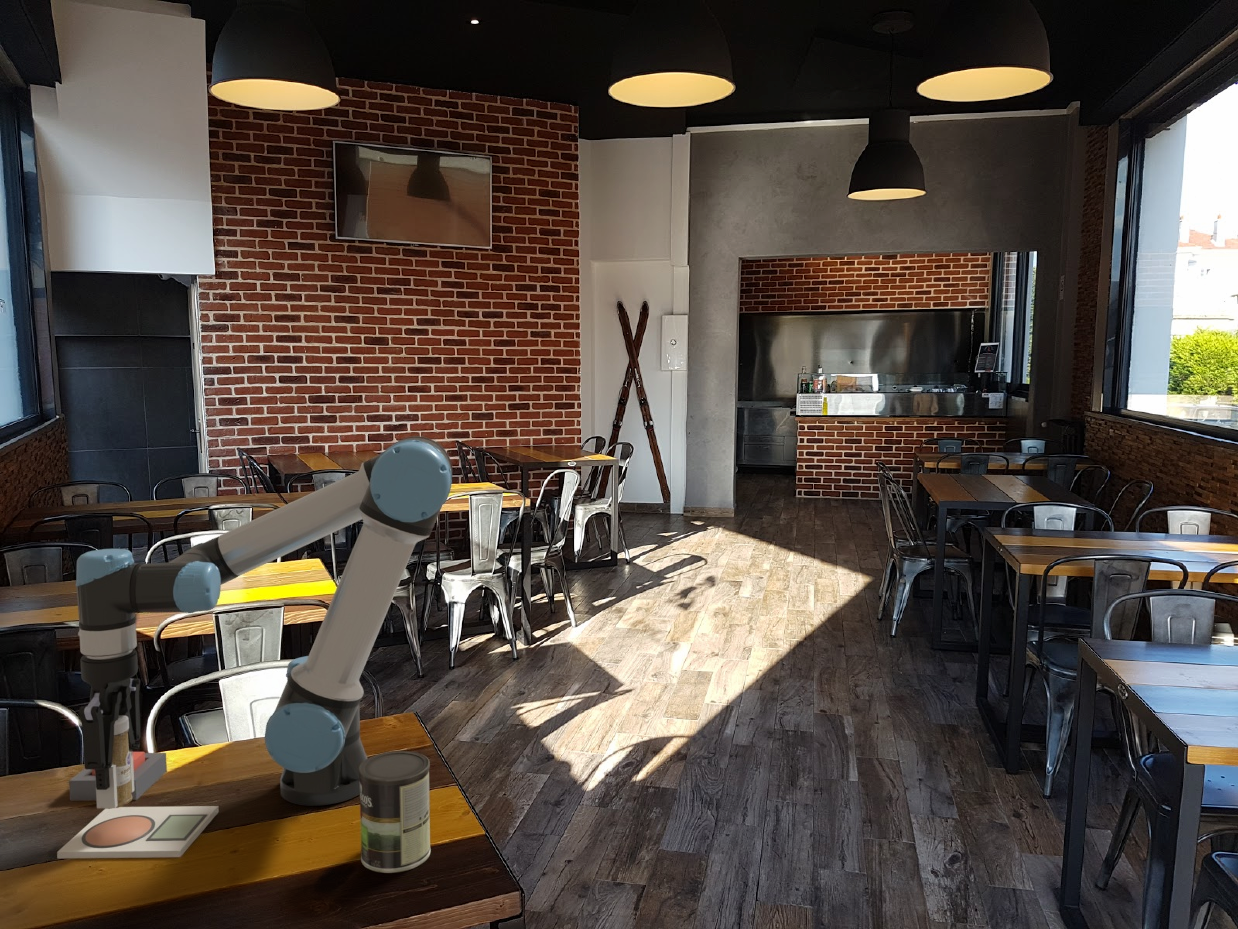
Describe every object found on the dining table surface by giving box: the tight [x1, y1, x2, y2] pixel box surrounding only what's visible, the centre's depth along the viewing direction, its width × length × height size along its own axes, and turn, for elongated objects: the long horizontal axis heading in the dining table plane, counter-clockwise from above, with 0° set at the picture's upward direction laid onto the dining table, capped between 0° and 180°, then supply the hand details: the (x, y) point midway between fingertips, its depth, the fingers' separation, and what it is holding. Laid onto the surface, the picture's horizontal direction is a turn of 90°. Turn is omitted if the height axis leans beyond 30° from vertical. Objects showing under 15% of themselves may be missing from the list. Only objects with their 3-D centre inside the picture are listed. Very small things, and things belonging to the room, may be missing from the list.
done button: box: [92, 751, 146, 775], centre depth 160 cm, size 6×6×3 cm
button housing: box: [68, 752, 168, 802], centre depth 160 cm, size 11×11×4 cm
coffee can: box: [358, 750, 432, 874], centre depth 137 cm, size 10×10×14 cm
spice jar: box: [105, 715, 133, 809], centre depth 141 cm, size 5×5×14 cm
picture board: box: [56, 805, 220, 859], centre depth 143 cm, size 18×14×1 cm
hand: (116, 799), depth 142 cm, fingers closed on spice jar, 4 cm apart
